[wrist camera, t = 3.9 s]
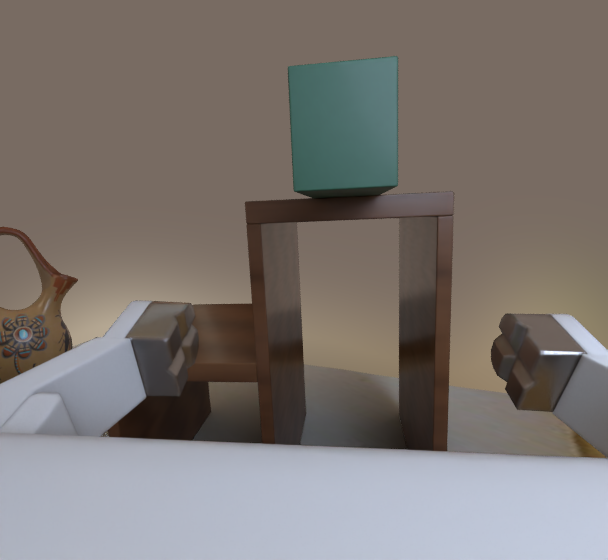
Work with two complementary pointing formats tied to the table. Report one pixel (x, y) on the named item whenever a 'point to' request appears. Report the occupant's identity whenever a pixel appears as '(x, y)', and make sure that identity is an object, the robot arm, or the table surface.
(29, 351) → the ceramic vessel
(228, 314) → the step shelf
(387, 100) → the carton
